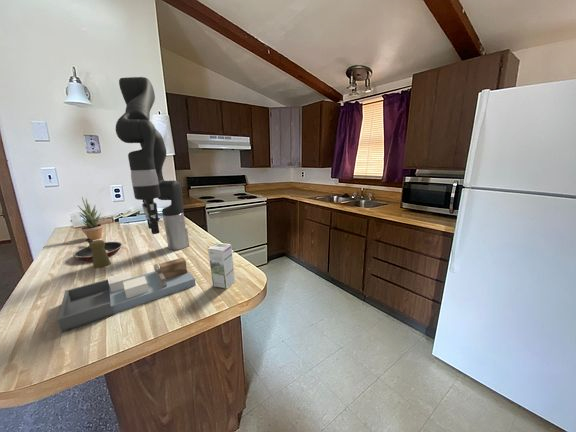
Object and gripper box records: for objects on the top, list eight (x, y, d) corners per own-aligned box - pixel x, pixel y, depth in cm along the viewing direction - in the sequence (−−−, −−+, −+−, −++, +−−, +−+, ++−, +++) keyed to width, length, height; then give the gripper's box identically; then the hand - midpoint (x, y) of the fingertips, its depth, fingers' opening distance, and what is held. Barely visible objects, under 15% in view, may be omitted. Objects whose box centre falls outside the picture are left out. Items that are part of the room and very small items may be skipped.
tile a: (146, 284, 81) (144, 276, 81) (148, 291, 77) (147, 283, 76) (125, 290, 78) (123, 282, 77) (126, 298, 73) (124, 289, 72)
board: (183, 269, 97) (182, 263, 96) (195, 285, 84) (194, 278, 84) (110, 290, 83) (108, 284, 82) (112, 313, 70) (110, 306, 70)
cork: (101, 268, 100) (95, 243, 97) (89, 267, 101) (83, 243, 98) (114, 262, 105) (108, 238, 102) (103, 261, 106) (97, 238, 104)
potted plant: (91, 236, 143) (81, 195, 136) (108, 235, 144) (99, 194, 137) (79, 242, 133) (67, 198, 127) (97, 240, 134) (87, 197, 128)
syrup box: (235, 281, 86) (232, 243, 82) (226, 289, 81) (222, 249, 77) (222, 278, 88) (217, 241, 84) (212, 287, 83) (207, 248, 79)
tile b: (131, 279, 85) (129, 271, 84) (133, 285, 80) (131, 277, 80) (110, 284, 82) (108, 276, 81) (111, 292, 77) (109, 284, 76)
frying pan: (79, 267, 102) (77, 259, 101) (65, 250, 122) (63, 243, 121) (129, 252, 116) (127, 245, 115) (109, 239, 136) (108, 233, 135)
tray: (110, 289, 83) (107, 279, 82) (112, 315, 70) (109, 303, 68) (68, 301, 77) (65, 290, 76) (62, 332, 63) (57, 319, 62)
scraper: (181, 264, 95) (179, 253, 94) (191, 278, 84) (189, 265, 83) (155, 272, 89) (152, 259, 88) (162, 287, 79) (160, 273, 77)
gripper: (162, 184, 76) (169, 233, 79) (155, 181, 87) (162, 224, 91) (134, 186, 71) (143, 238, 75) (130, 183, 83) (139, 228, 86)
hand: (153, 230), depth 83 cm, fingers open, 8 cm apart
